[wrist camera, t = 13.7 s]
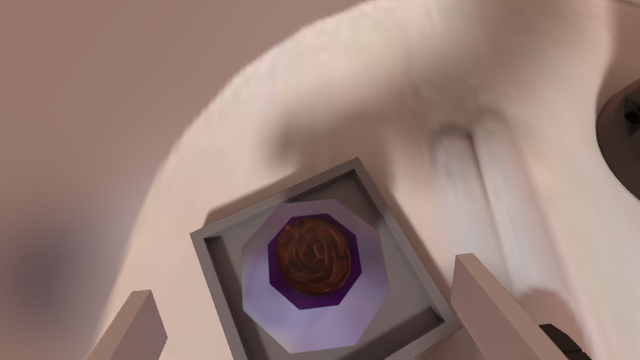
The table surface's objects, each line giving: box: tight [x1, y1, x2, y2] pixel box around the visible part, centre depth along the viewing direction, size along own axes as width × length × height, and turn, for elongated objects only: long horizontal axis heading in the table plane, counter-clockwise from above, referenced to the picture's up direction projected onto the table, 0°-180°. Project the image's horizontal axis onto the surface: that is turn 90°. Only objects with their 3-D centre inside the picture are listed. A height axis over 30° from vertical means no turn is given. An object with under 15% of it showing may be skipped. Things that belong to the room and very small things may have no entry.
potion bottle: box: [242, 199, 390, 354], centre depth 18 cm, size 9×9×12 cm
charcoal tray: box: [190, 157, 462, 360], centre depth 24 cm, size 15×15×2 cm
